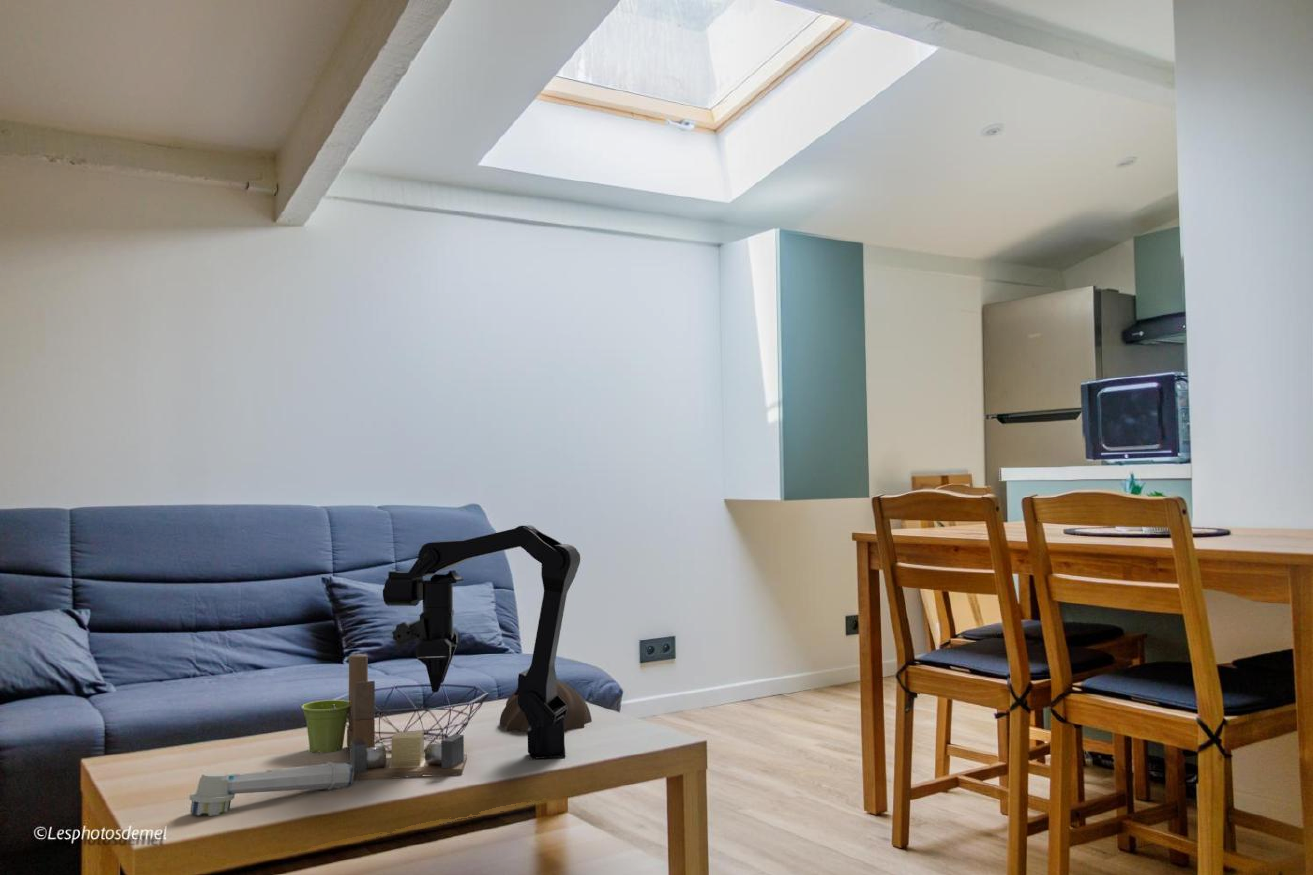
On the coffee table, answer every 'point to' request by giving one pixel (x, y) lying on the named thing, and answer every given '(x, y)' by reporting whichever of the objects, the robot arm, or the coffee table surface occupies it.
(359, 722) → the wooden block
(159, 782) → the coffee table surface
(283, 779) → the toothbrush head
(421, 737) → the cream cube
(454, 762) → the shaft
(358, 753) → the shaft
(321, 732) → the plant pot
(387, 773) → the board
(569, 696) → the decorative dome
